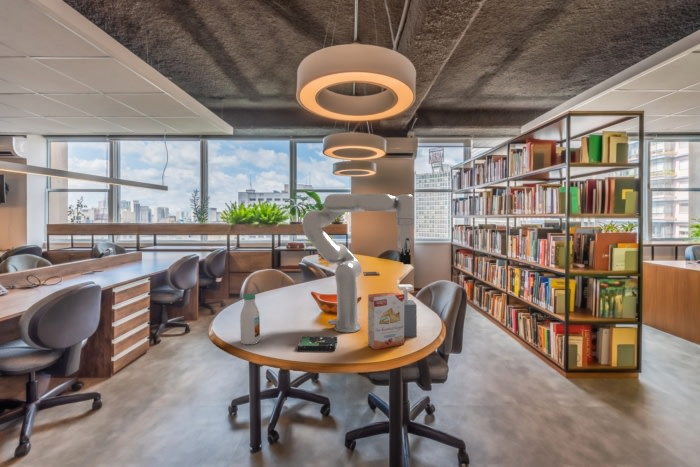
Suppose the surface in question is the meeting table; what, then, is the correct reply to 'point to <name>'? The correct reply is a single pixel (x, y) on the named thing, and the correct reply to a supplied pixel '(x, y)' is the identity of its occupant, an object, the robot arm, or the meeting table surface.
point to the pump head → (405, 290)
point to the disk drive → (317, 344)
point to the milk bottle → (249, 321)
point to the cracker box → (385, 320)
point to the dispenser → (410, 319)
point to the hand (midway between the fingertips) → (405, 262)
